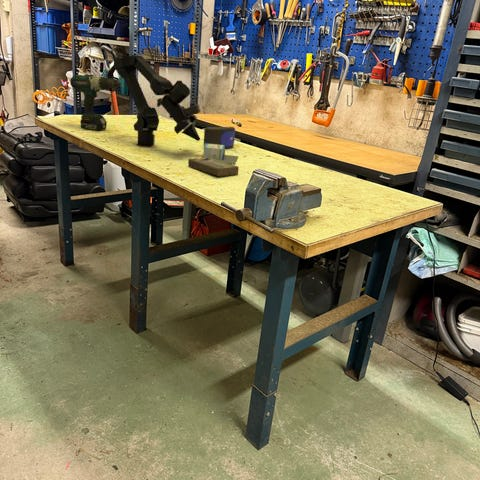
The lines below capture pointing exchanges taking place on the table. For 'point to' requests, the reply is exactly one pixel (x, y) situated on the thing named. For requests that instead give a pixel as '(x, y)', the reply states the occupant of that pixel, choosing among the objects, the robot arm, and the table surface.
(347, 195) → the table surface
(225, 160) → the mat
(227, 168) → the box
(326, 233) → the table surface
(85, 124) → the power drill
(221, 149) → the medicine box
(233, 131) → the leaning round-cornered charcoal block
